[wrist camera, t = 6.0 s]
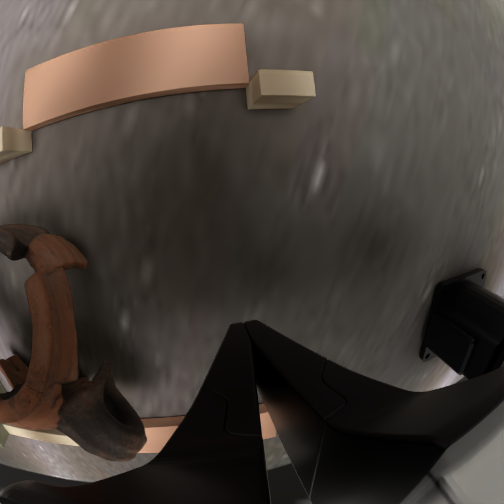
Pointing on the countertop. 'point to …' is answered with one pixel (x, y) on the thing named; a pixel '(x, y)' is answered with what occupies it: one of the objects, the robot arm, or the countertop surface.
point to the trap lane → (137, 88)
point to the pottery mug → (62, 358)
